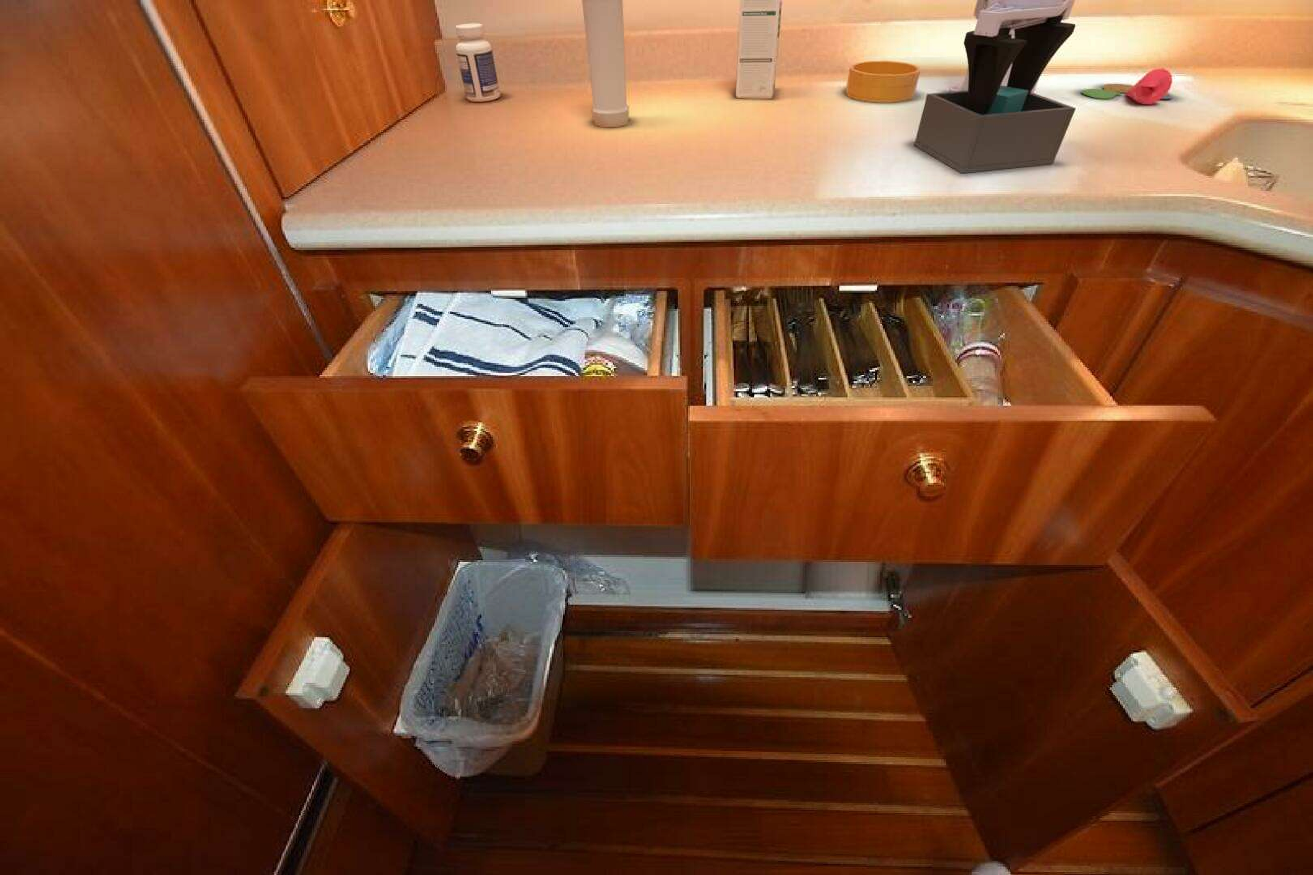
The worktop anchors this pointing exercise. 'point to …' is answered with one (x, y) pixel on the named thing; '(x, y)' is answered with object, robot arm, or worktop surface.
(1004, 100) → the toy block
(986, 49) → the robot arm
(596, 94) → the bottle
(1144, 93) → the toy pieces
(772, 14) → the syrup box
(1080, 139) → the worktop surface
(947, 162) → the bin
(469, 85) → the pill bottle
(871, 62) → the bowl
